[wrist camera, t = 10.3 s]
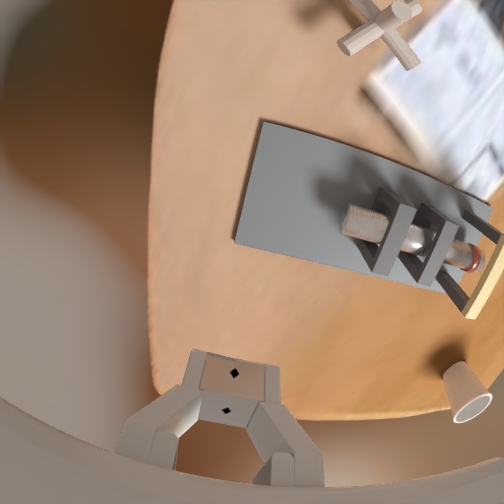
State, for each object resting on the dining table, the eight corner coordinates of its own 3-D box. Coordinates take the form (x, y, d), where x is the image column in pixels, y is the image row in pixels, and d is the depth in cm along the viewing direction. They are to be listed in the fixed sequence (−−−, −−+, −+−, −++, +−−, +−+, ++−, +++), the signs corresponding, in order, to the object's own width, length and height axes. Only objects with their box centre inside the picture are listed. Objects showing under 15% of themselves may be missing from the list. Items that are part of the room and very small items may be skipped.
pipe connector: (422, 51, 24) (472, 39, 15) (361, 93, 27) (399, 89, 18) (366, -16, 21) (398, -52, 12) (299, 22, 24) (313, -11, 15)
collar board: (263, 121, 29) (261, 125, 21) (490, 206, 31) (533, 235, 23) (234, 241, 36) (224, 285, 27) (450, 292, 37) (480, 333, 29)
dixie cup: (429, 386, 47) (445, 426, 38) (451, 356, 43) (472, 396, 34) (457, 384, 47) (474, 420, 38) (479, 355, 44) (500, 392, 35)
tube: (346, 197, 31) (354, 207, 27) (475, 242, 32) (489, 255, 29) (335, 227, 32) (342, 240, 29) (464, 265, 33) (477, 279, 30)
